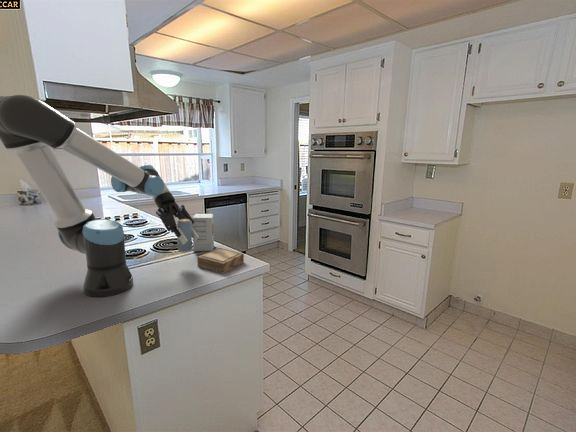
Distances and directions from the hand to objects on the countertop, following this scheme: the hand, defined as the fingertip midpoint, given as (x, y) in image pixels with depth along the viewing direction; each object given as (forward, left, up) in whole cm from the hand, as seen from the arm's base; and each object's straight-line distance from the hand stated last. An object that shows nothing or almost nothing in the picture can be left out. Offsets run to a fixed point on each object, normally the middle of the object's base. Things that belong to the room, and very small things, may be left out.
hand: (191, 240), depth 123 cm
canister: (0, +4, -4) cm, 6 cm away
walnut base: (+10, -7, -12) cm, 17 cm away
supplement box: (+21, +13, -12) cm, 27 cm away
